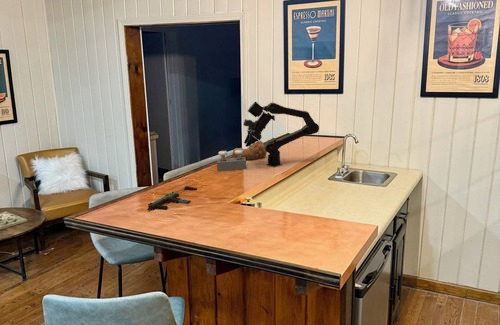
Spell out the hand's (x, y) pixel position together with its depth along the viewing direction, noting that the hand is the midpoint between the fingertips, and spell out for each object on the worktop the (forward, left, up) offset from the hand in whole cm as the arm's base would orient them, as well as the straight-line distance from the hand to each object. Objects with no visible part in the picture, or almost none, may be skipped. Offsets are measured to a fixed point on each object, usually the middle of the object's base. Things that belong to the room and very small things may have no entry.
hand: (245, 144), depth 229 cm
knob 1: (+10, -8, -9) cm, 16 cm away
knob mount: (+6, -5, -13) cm, 16 cm away
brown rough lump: (-16, -16, -13) cm, 26 cm away
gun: (+55, +20, -14) cm, 60 cm away
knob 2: (+3, -3, -9) cm, 10 cm away
